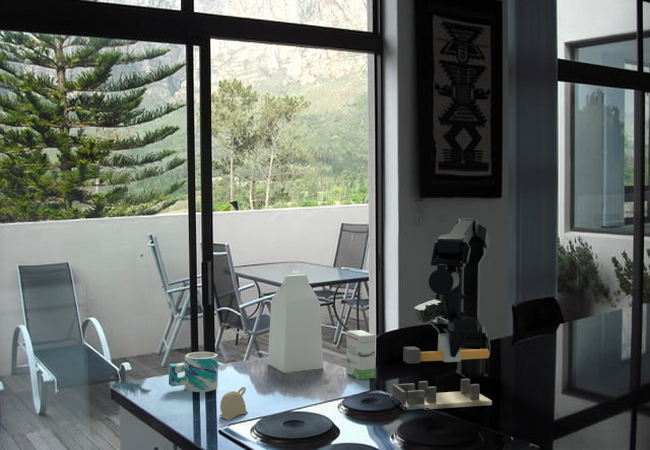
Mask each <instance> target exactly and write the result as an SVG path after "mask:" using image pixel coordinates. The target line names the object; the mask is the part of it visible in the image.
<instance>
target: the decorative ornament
mask: <svg viewBox="0 0 650 450" xmlns="http://www.w3.org/2000/svg"><path fill="white" fill-rule="evenodd" d="M246 390H247V388H246V387H245V386H242V387H241V388H240V389H239V390H237V391H235V390H232V391H229V392H228V391H227V392H226V393H225V394H224V395H223V396H222V398H221V399H220V400H221V401H220V406H219V408H220V412H221V413H220V415H219V416H220V417H221V418H223V419H225V420H226V421H230V420H232V419H233V418H235V417H237V416H240V415H244V414H249V412H248V411H247V408H246V402H245V400H244V398H243V396H244V394H245V393H246Z"/></svg>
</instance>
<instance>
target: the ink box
mask: <svg viewBox="0 0 650 450" xmlns="http://www.w3.org/2000/svg"><path fill="white" fill-rule="evenodd" d="M345 360H346V362H345V363H346V365H345V368H346V369H345V372H347V373H346V374H348V373H349V374H348V375H350V374H351V375H350V376H352V375H353V376H352V377H354V378H356V379H358V380H368V379H375V378H376V335H375V334H372V333H371V332H368V331H366V330H363V329H359V330H357V329H356V330H355V329H354V330H353V329H352V330H347V331H346V358H345Z"/></svg>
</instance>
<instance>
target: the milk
mask: <svg viewBox="0 0 650 450" xmlns="http://www.w3.org/2000/svg"><path fill="white" fill-rule="evenodd" d="M321 312H322V311H321V303H320V300H319V298H318V296H317V294H316V292H315V291H314V289H313V287H312V286H311V284H310V282H309V278H308V276H307V274H286V275H285V276H284V279H283V281H282V283H281V285H280V287H279V288H278V289H277V291H276V292H275V293H274V295H273V296H272V298H271V302H270V315H269V334H268V335H269V336H268V351H267V353H268V354H267V364H268V365H269V366H270V367H273V368H275V369H276V370H278V371H280V372H282V373H284V374H286V373H287V372H288V373H294V372H293V371H297V372H300V371H299V370H306V371H309V370H308V369H315V370H320V369H319V368H323V369H324V360H323V359H324V358H323V357H324V356H323V335H322V316H321V315H322V314H321Z"/></svg>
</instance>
